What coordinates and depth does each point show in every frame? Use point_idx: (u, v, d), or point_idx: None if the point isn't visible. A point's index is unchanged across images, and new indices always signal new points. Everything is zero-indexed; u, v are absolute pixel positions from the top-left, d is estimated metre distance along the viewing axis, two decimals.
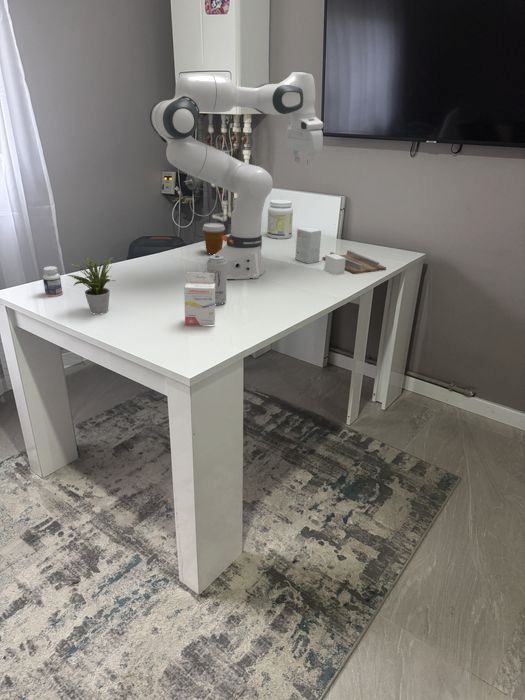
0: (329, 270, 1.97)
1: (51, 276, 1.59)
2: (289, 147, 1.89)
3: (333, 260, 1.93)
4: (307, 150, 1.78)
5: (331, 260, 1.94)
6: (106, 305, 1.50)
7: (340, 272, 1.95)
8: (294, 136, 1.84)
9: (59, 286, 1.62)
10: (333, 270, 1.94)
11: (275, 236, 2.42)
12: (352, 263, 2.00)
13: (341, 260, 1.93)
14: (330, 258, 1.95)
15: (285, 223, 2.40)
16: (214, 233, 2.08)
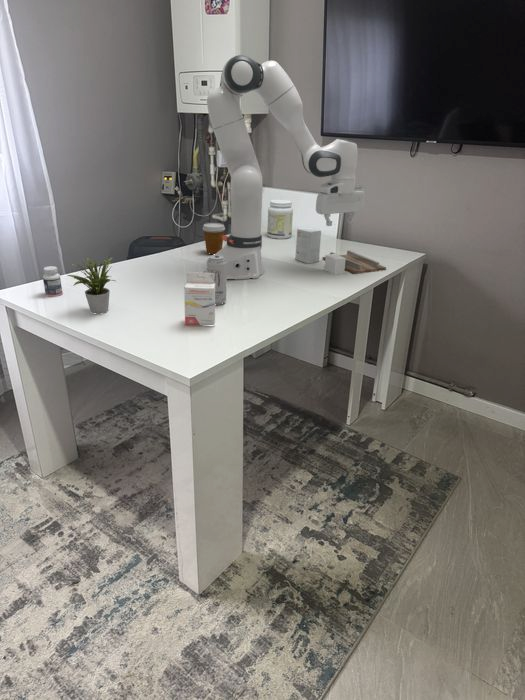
0: (329, 270, 1.97)
1: (51, 276, 1.59)
2: None
3: (333, 260, 1.93)
4: None
5: (331, 260, 1.94)
6: (106, 305, 1.50)
7: (340, 272, 1.95)
8: None
9: (59, 286, 1.62)
10: (333, 270, 1.94)
11: (275, 236, 2.42)
12: (352, 263, 2.00)
13: (341, 260, 1.93)
14: (330, 258, 1.95)
15: (285, 223, 2.40)
16: (214, 233, 2.08)
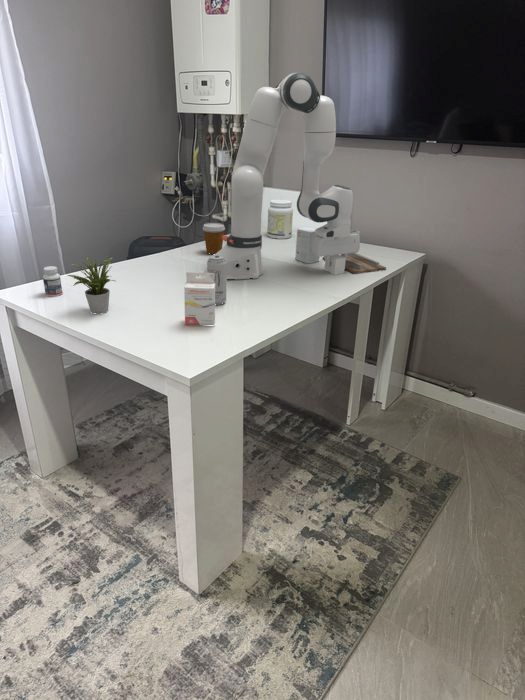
0: (329, 270, 1.97)
1: (51, 276, 1.59)
2: None
3: (333, 260, 1.93)
4: None
5: (331, 260, 1.94)
6: (106, 305, 1.50)
7: (340, 272, 1.95)
8: None
9: (59, 286, 1.62)
10: (333, 270, 1.94)
11: (275, 236, 2.42)
12: (352, 263, 2.00)
13: (341, 260, 1.93)
14: (330, 258, 1.95)
15: (285, 223, 2.40)
16: (214, 233, 2.08)
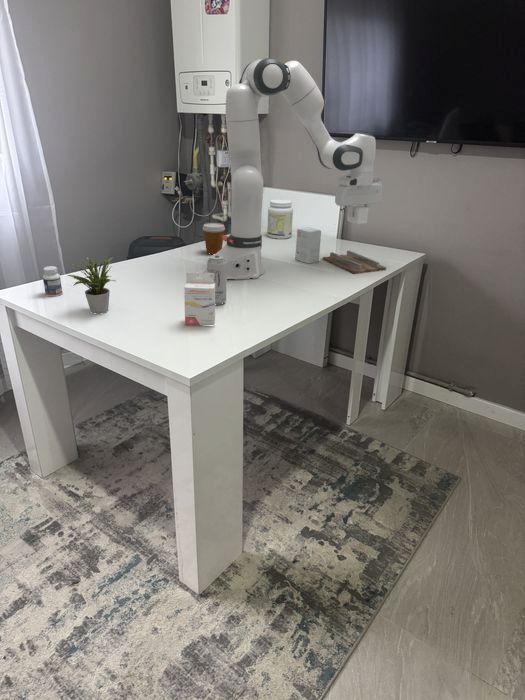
0: (352, 220, 1.97)
1: (51, 276, 1.59)
2: None
3: (356, 210, 1.94)
4: None
5: (354, 210, 1.95)
6: (106, 305, 1.50)
7: (363, 222, 1.96)
8: None
9: (59, 286, 1.62)
10: (356, 220, 1.95)
11: (275, 236, 2.42)
12: (352, 263, 2.00)
13: (364, 209, 1.93)
14: (353, 208, 1.95)
15: (285, 223, 2.40)
16: (214, 233, 2.08)
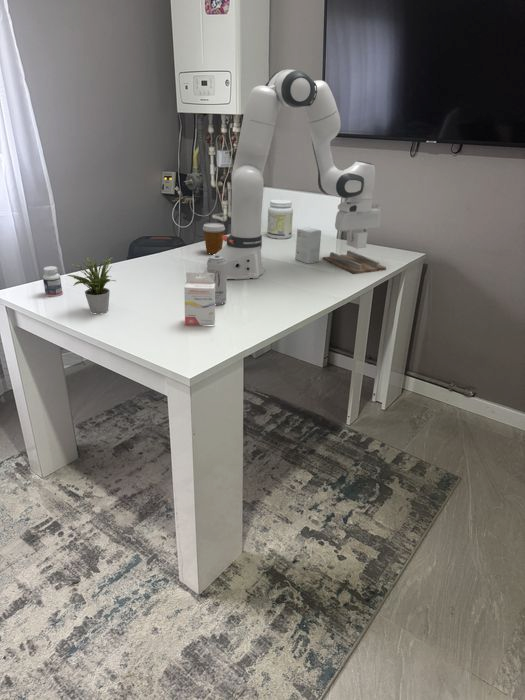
0: (351, 245, 2.03)
1: (51, 276, 1.59)
2: None
3: (355, 234, 1.99)
4: None
5: (353, 235, 2.00)
6: (106, 305, 1.50)
7: (362, 246, 2.01)
8: None
9: (59, 286, 1.62)
10: (355, 244, 2.00)
11: (275, 236, 2.42)
12: (352, 263, 2.00)
13: (363, 234, 1.99)
14: (352, 233, 2.01)
15: (285, 223, 2.40)
16: (214, 233, 2.08)
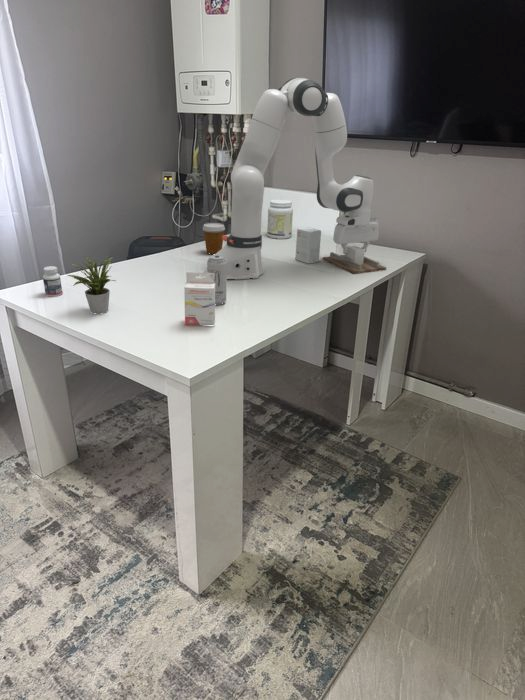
0: None
1: (51, 276, 1.59)
2: None
3: (353, 251, 2.02)
4: None
5: (351, 251, 2.03)
6: (106, 305, 1.50)
7: (359, 263, 2.04)
8: None
9: (59, 286, 1.62)
10: None
11: (275, 236, 2.42)
12: (352, 263, 2.00)
13: (361, 251, 2.02)
14: (350, 249, 2.04)
15: (285, 223, 2.40)
16: (214, 233, 2.08)
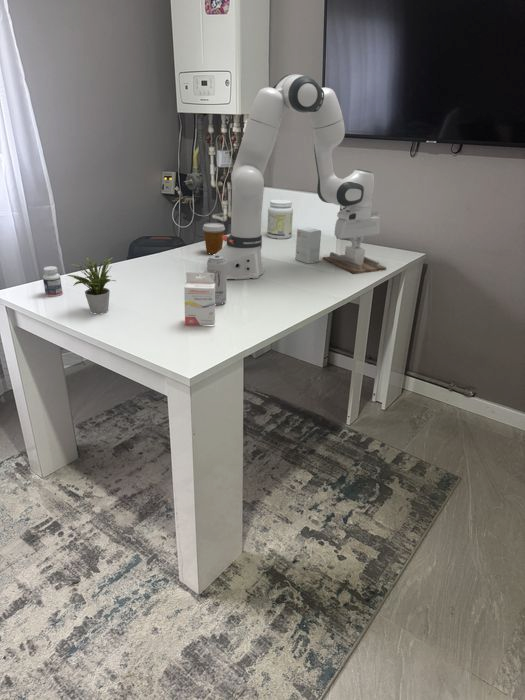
0: None
1: (51, 276, 1.59)
2: None
3: (353, 251, 2.02)
4: None
5: (351, 251, 2.03)
6: (106, 305, 1.50)
7: (359, 262, 2.04)
8: None
9: (59, 286, 1.62)
10: None
11: (275, 236, 2.42)
12: (352, 263, 2.00)
13: (361, 251, 2.02)
14: (350, 249, 2.04)
15: (285, 223, 2.40)
16: (214, 233, 2.08)
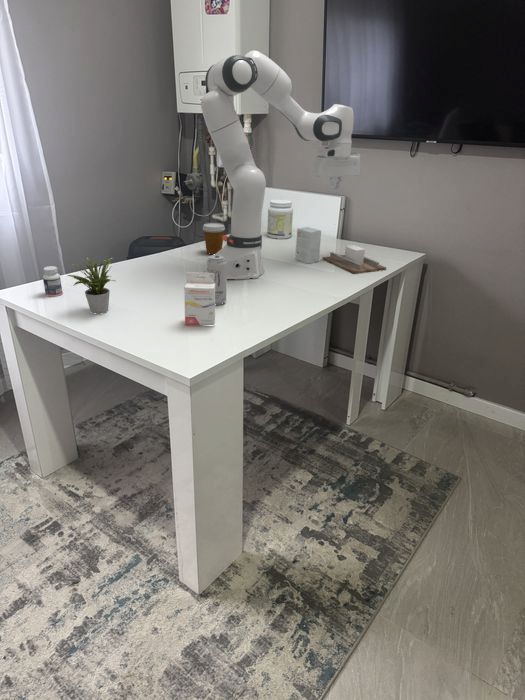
0: None
1: (51, 276, 1.59)
2: None
3: (353, 251, 2.02)
4: None
5: (351, 251, 2.03)
6: (106, 305, 1.50)
7: (359, 263, 2.04)
8: None
9: (59, 286, 1.62)
10: None
11: (275, 236, 2.42)
12: (352, 263, 2.00)
13: (361, 251, 2.02)
14: (350, 249, 2.04)
15: (285, 223, 2.40)
16: (214, 233, 2.08)
